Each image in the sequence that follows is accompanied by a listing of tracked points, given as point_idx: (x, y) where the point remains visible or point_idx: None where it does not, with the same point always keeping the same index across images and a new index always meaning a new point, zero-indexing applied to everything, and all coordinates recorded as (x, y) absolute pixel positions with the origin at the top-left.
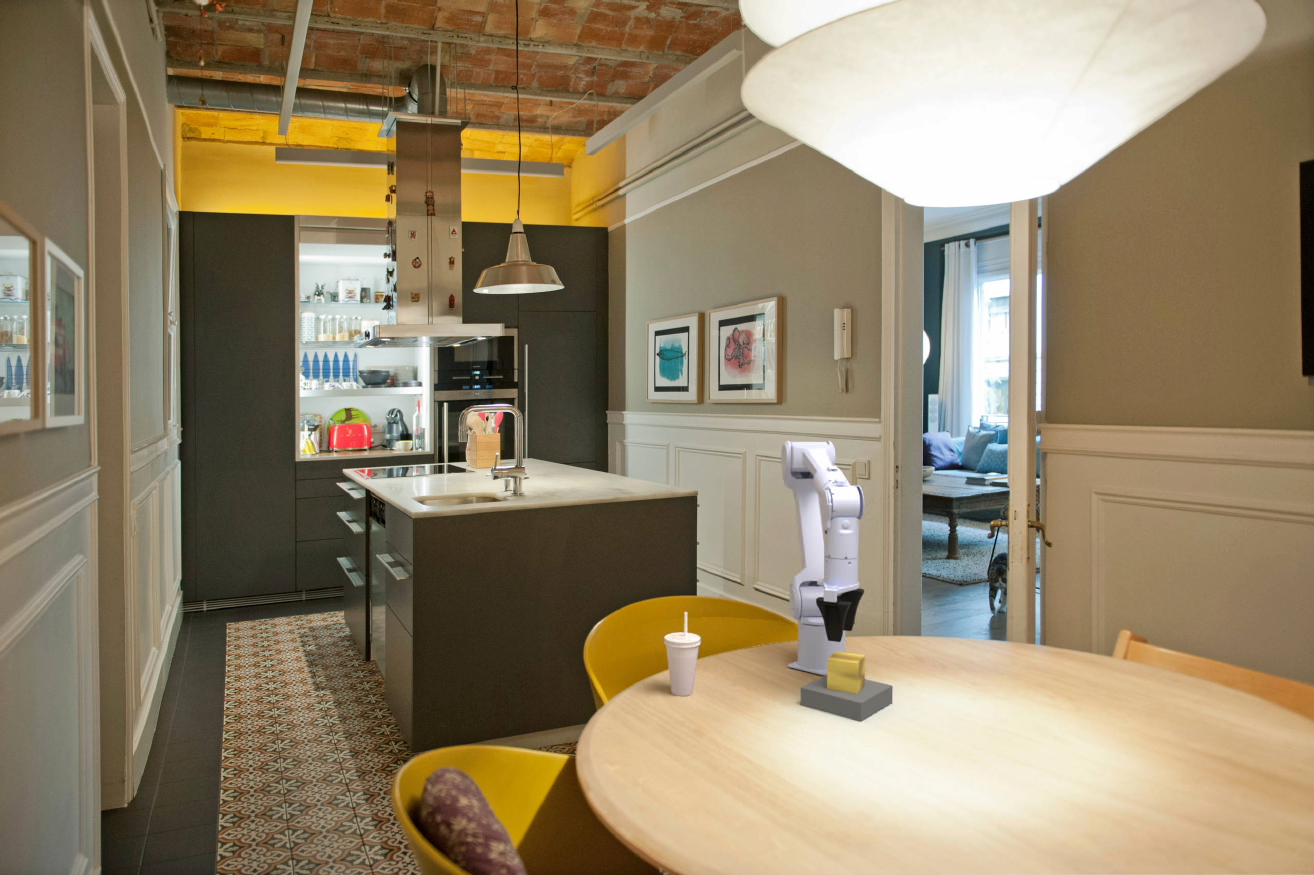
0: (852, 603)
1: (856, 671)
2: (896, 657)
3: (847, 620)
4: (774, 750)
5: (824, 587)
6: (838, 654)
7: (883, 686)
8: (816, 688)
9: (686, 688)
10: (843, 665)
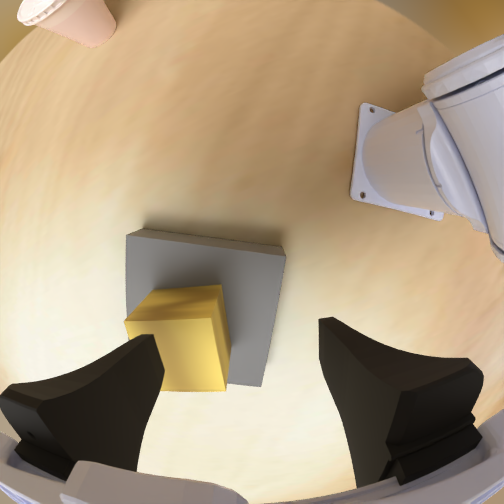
0: (353, 442)
1: None
2: (490, 277)
3: (331, 370)
4: (9, 272)
5: (13, 482)
6: (184, 335)
7: (244, 377)
8: (141, 268)
9: (80, 43)
10: None
